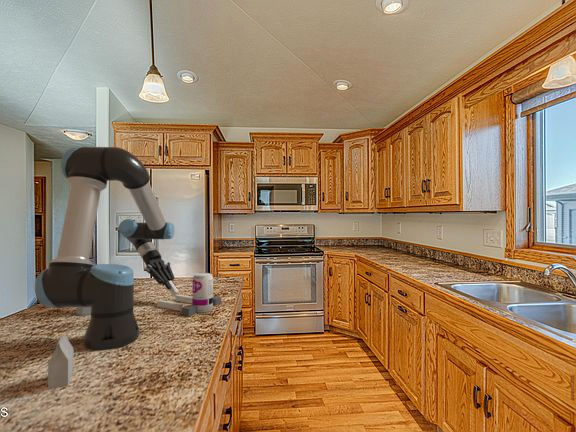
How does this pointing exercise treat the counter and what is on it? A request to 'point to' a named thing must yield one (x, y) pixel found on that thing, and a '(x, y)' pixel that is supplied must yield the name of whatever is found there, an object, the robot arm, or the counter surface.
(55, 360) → the gray house shaped block
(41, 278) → the robot arm
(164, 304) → the chute
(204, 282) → the supplement can
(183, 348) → the counter surface
